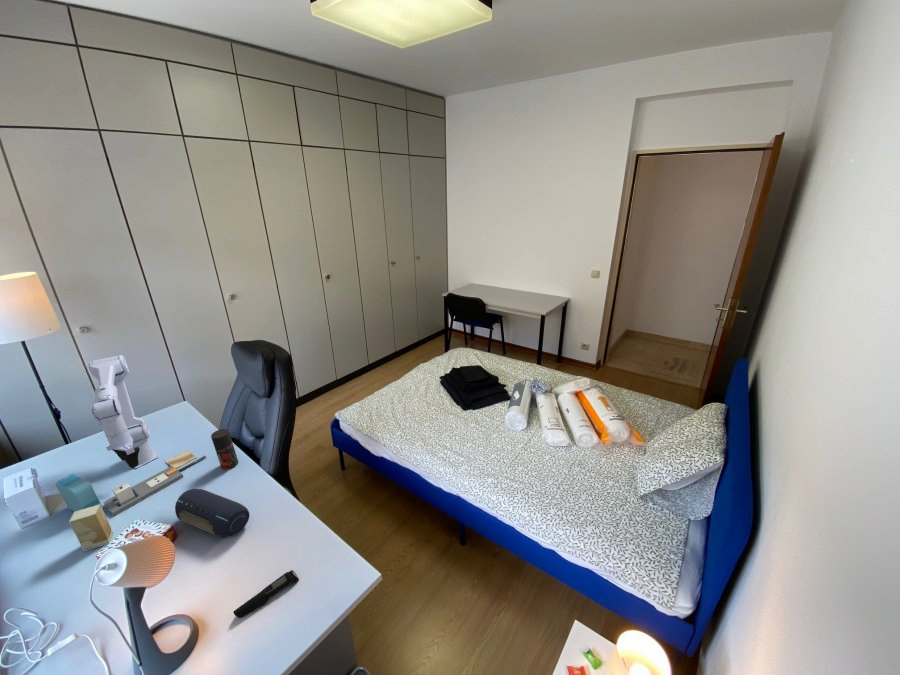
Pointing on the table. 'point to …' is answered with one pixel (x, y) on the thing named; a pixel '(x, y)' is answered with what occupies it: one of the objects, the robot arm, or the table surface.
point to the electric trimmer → (266, 594)
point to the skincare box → (91, 527)
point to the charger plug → (123, 493)
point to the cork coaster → (181, 459)
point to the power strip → (149, 487)
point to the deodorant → (224, 449)
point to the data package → (77, 493)
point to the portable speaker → (211, 512)
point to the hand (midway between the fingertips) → (130, 463)
